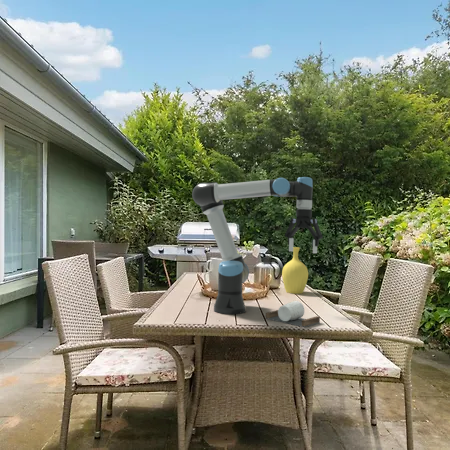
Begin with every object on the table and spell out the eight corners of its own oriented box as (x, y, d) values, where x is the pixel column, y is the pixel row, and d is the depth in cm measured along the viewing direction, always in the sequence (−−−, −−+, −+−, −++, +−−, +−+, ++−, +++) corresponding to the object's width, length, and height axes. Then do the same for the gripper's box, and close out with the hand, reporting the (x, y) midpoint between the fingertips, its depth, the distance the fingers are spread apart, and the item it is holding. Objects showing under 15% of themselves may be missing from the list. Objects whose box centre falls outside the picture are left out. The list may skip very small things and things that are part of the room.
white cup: (294, 318, 171) (307, 313, 178) (285, 301, 174) (298, 297, 181) (282, 325, 175) (295, 321, 183) (273, 309, 178) (286, 305, 185)
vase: (292, 289, 265) (294, 246, 265) (313, 293, 253) (314, 248, 253) (276, 291, 255) (277, 246, 255) (296, 295, 242) (297, 248, 242)
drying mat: (265, 318, 181) (265, 317, 181) (281, 314, 190) (281, 313, 190) (304, 327, 167) (304, 326, 167) (319, 322, 176) (319, 321, 176)
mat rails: (265, 317, 181) (266, 312, 181) (281, 313, 190) (281, 309, 190) (304, 326, 167) (304, 321, 167) (319, 321, 176) (319, 316, 176)
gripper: (278, 208, 206) (277, 250, 206) (322, 208, 189) (321, 254, 189) (287, 209, 211) (285, 250, 211) (330, 209, 194) (329, 253, 194)
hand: (302, 252), depth 200 cm, fingers open, 13 cm apart
